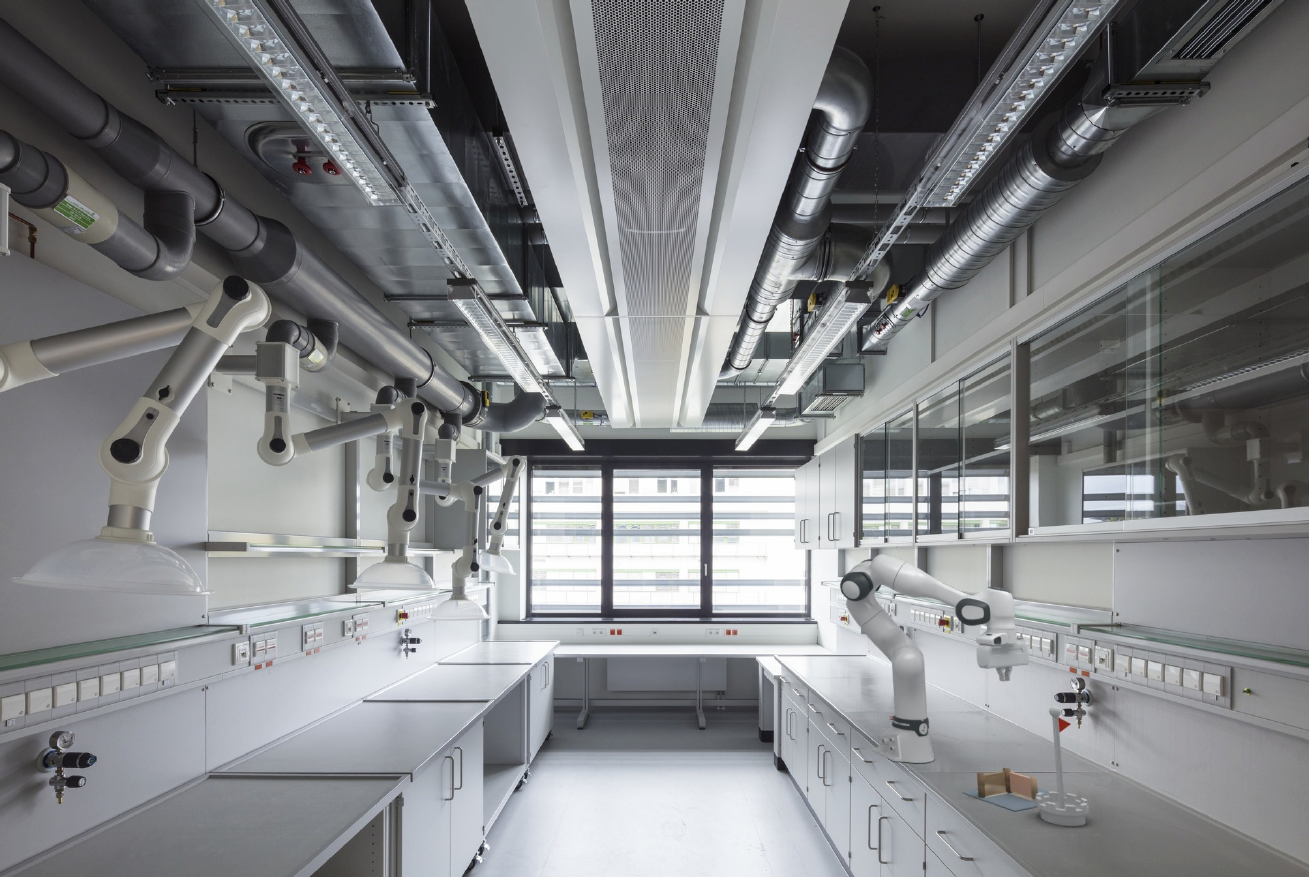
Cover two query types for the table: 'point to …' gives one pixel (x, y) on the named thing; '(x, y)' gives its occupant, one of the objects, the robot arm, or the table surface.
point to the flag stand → (1061, 788)
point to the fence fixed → (993, 783)
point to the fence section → (1023, 785)
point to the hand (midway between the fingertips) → (1004, 680)
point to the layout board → (1008, 800)
